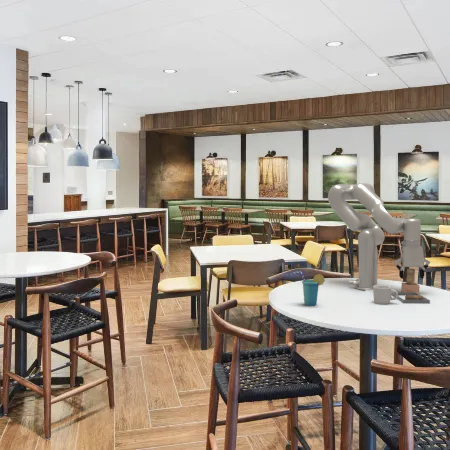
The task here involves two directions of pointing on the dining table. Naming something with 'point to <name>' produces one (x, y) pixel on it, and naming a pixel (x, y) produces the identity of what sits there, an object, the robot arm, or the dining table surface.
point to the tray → (424, 301)
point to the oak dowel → (410, 276)
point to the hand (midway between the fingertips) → (411, 278)
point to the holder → (410, 287)
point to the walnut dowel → (413, 297)
